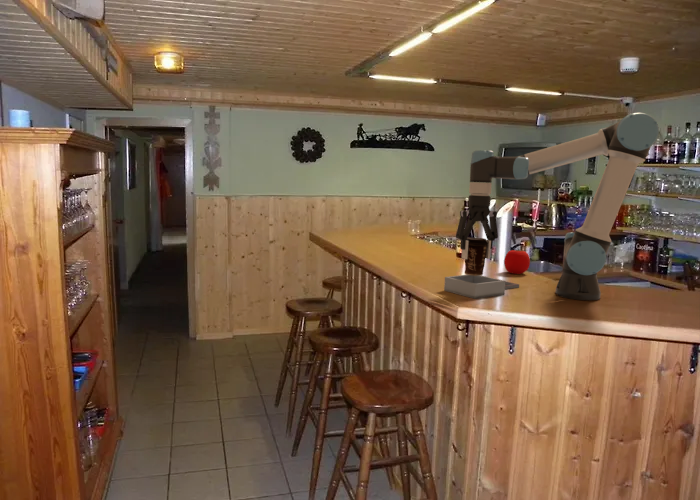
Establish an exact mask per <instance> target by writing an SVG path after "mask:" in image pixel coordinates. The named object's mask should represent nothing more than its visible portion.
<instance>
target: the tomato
mask: <svg viewBox="0 0 700 500" xmlns="http://www.w3.org/2000/svg"><path fill="white" fill-rule="evenodd" d="M503 261H504V262H503V263H504V267H505V270H506V271H507V272H508V273H509V274H512V275H513V274H514V275H521V274H524V273H525V272H527V271H528V270H529V268H530V264H531V258H530V255H529V253H528V252H527V251H524V250H521V249H519V248H518V249H512V250H508V251H507V253H506V255H505V256H504V260H503Z"/></svg>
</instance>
